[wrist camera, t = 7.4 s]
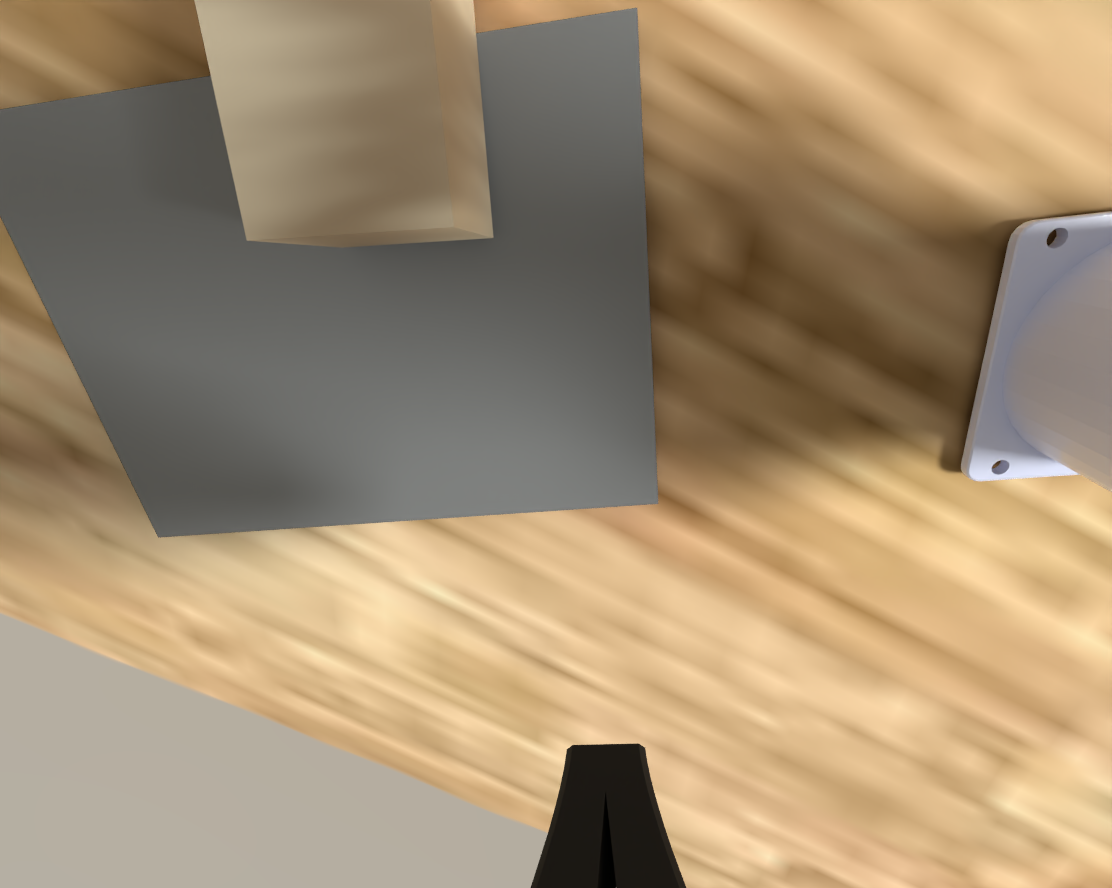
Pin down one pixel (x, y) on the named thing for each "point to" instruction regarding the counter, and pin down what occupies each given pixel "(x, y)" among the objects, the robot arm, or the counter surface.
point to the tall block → (351, 119)
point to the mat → (356, 307)
